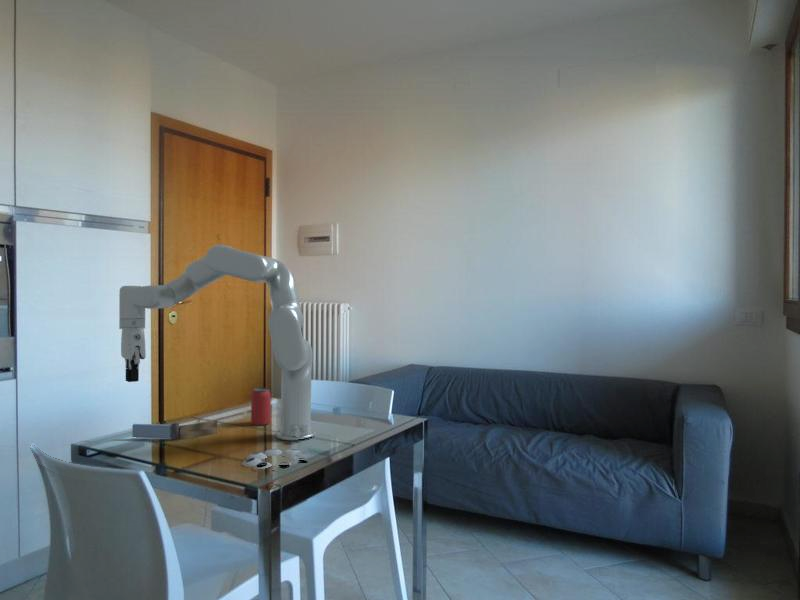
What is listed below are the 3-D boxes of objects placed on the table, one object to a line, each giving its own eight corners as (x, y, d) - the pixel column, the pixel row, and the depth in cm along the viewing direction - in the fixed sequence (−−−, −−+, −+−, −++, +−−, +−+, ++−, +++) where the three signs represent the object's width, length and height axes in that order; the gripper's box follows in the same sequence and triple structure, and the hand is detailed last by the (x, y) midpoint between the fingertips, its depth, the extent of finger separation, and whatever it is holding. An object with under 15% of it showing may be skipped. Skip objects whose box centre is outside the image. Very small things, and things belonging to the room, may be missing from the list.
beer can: (271, 424, 195) (272, 390, 195) (252, 426, 192) (252, 391, 192) (268, 420, 201) (269, 387, 201) (250, 422, 199) (250, 388, 198)
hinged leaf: (171, 437, 175) (172, 424, 175) (170, 438, 174) (170, 425, 174) (134, 436, 175) (134, 423, 175) (132, 437, 174) (132, 424, 174)
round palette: (327, 457, 159) (327, 450, 159) (288, 478, 141) (288, 470, 141) (269, 449, 166) (269, 442, 166) (225, 468, 148) (225, 461, 148)
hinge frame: (214, 432, 184) (215, 417, 184) (217, 433, 182) (217, 418, 182) (170, 439, 174) (170, 423, 174) (173, 440, 173) (173, 424, 173)
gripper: (152, 325, 177) (152, 383, 177) (136, 322, 188) (136, 377, 189) (127, 325, 172) (127, 385, 172) (112, 323, 183) (112, 379, 183)
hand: (132, 380), depth 180 cm, fingers closed
